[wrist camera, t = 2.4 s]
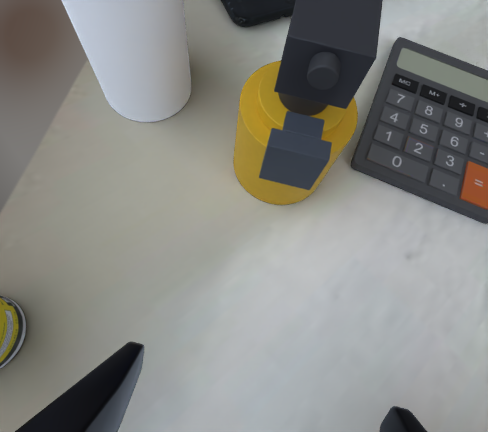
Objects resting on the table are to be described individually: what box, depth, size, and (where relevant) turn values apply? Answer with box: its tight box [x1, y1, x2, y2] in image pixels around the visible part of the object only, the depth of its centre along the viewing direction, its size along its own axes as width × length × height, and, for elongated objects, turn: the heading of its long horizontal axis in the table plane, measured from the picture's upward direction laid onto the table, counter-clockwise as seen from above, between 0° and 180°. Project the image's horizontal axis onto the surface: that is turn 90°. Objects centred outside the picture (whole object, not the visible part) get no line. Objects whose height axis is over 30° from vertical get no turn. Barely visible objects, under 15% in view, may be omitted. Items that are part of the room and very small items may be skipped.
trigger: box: [259, 111, 332, 190], centre depth 16 cm, size 2×3×3 cm
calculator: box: [351, 37, 488, 223], centre depth 28 cm, size 12×1×15 cm
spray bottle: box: [233, 0, 383, 205], centre depth 20 cm, size 7×7×14 cm
